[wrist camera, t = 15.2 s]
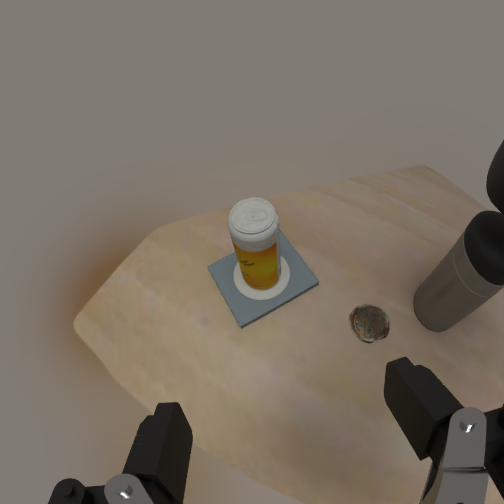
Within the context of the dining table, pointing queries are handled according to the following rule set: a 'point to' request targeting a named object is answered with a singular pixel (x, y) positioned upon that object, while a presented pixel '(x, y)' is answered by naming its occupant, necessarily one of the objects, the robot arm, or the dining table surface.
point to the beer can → (256, 241)
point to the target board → (266, 300)
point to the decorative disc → (369, 323)
